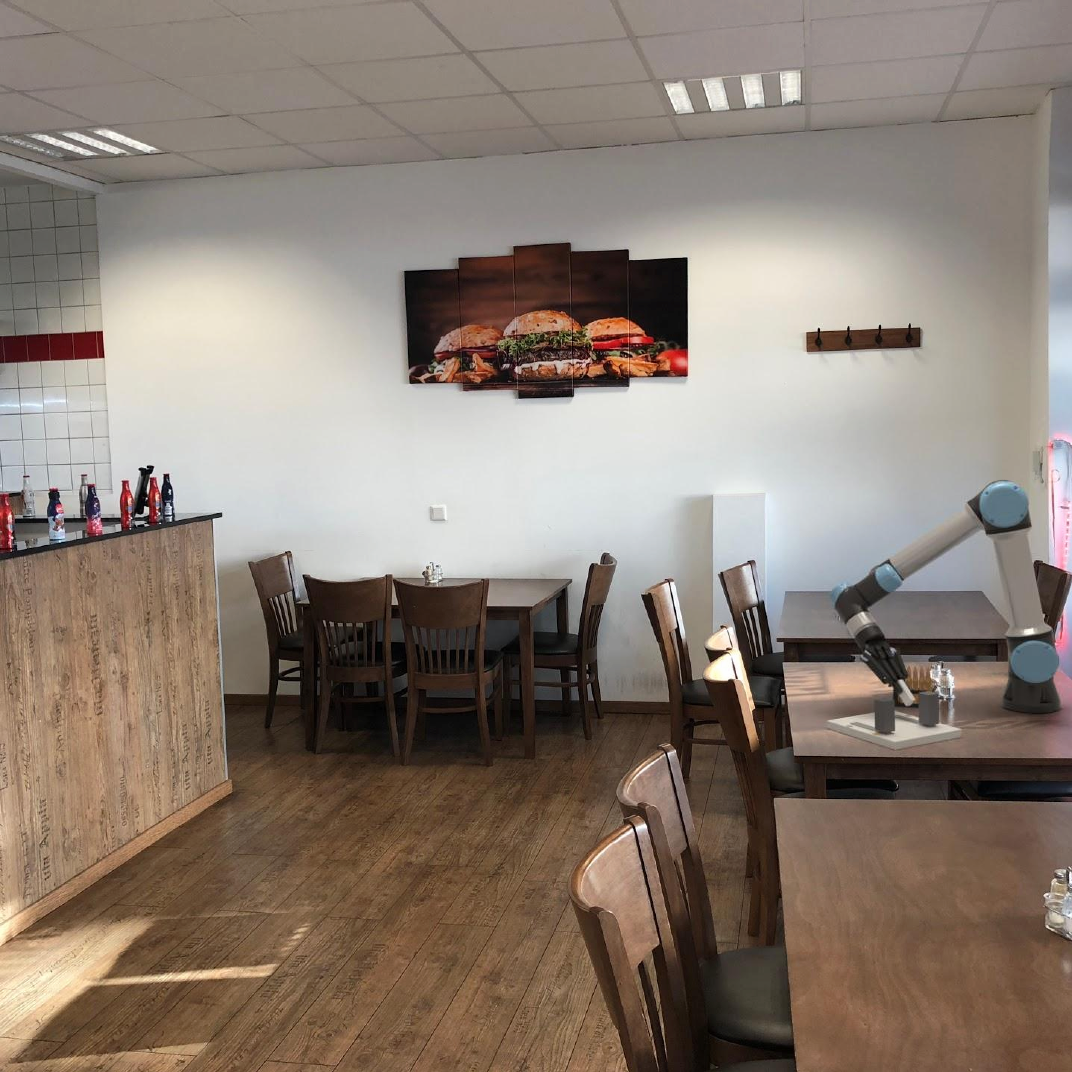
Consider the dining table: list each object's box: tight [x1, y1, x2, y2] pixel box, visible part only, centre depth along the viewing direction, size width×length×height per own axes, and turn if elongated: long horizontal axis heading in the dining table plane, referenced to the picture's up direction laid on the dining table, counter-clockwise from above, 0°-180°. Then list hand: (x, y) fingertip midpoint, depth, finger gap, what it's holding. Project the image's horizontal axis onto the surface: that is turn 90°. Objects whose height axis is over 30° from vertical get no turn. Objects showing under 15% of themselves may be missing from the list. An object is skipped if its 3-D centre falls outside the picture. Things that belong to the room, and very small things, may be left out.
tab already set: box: [873, 697, 896, 733], centre depth 287 cm, size 4×4×8 cm
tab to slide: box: [918, 691, 940, 726], centre depth 292 cm, size 4×4×8 cm
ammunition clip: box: [892, 665, 933, 709], centre depth 321 cm, size 11×2×12 cm, turn 66°
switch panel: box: [826, 710, 963, 751], centre depth 295 cm, size 26×22×2 cm
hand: (910, 702), depth 298 cm, fingers closed
